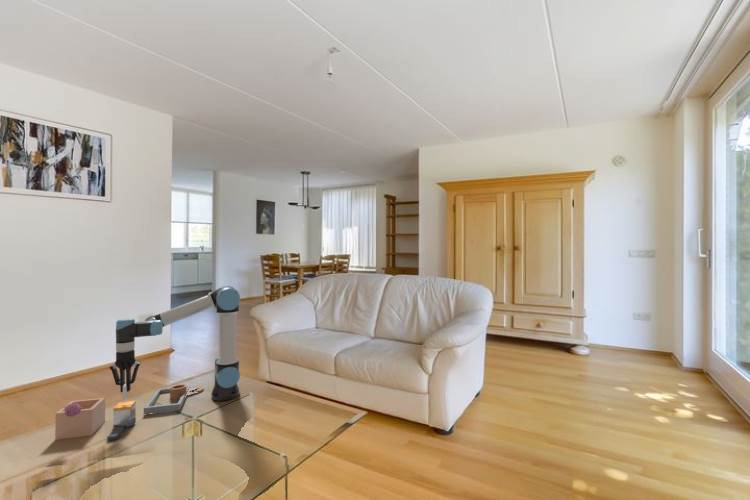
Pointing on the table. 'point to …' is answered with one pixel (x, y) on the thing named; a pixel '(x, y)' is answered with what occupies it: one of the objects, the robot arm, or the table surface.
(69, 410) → the artificial flower
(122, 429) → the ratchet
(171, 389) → the brown long-handled pot
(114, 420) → the orange-topped grey block
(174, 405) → the frame
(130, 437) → the table surface
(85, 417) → the open pinkish beige box
